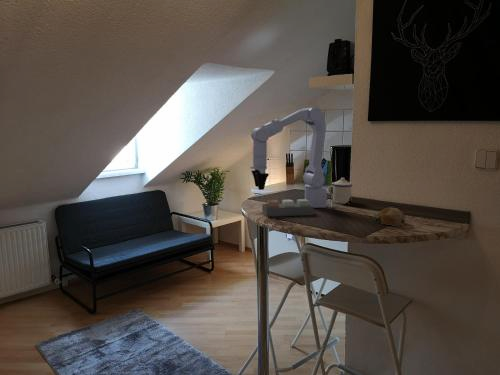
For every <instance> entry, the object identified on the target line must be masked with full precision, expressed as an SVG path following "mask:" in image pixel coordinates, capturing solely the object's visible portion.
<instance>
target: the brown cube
mask: <svg viewBox="0 0 500 375" xmlns="http://www.w3.org/2000/svg"><path fill="white" fill-rule="evenodd" d="M266 204H267V206H268V207H278V204H279V200H277V199H268V200H267V199H266Z"/></svg>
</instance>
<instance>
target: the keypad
mask: <svg viewBox="0 0 500 375" xmlns="http://www.w3.org/2000/svg"><path fill="white" fill-rule="evenodd" d="M261 205H262V206H261V207H262V208H261V210H262V213H263V215H264V214H265V215H266V216H268V217H287V216H288V217H290V216H293V217H295V216H313V215H314V210H315V208H314V206H312V205H311V204H309V206H298V205H297V202H294V206H288V207H284V206H282V202H281V203H279V204H278V207H268V206H267V203H262V204H261ZM265 215H264V216H265ZM266 216H265V217H266Z"/></svg>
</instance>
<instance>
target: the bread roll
mask: <svg viewBox="0 0 500 375" xmlns="http://www.w3.org/2000/svg"><path fill="white" fill-rule="evenodd" d="M375 221H376V222H377V223H378V224H380V223H381V224H380V225H383V224H385V225H384V226H387V225H392V226H391V227H402V226H404V223H405V221H406V218H405V214H404V213H403V211H402V210H399V208H397V207H396V208H395V207H386V208H383V209H381V210H380V211H379V212H378V213H377V215H376V218H375ZM400 225H401V226H400Z"/></svg>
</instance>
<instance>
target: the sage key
mask: <svg viewBox="0 0 500 375" xmlns="http://www.w3.org/2000/svg"><path fill="white" fill-rule="evenodd" d="M296 203H297V205H298V206H309V201H308V200H307V199H305V198H302V199H301V198H299V199H296Z"/></svg>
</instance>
